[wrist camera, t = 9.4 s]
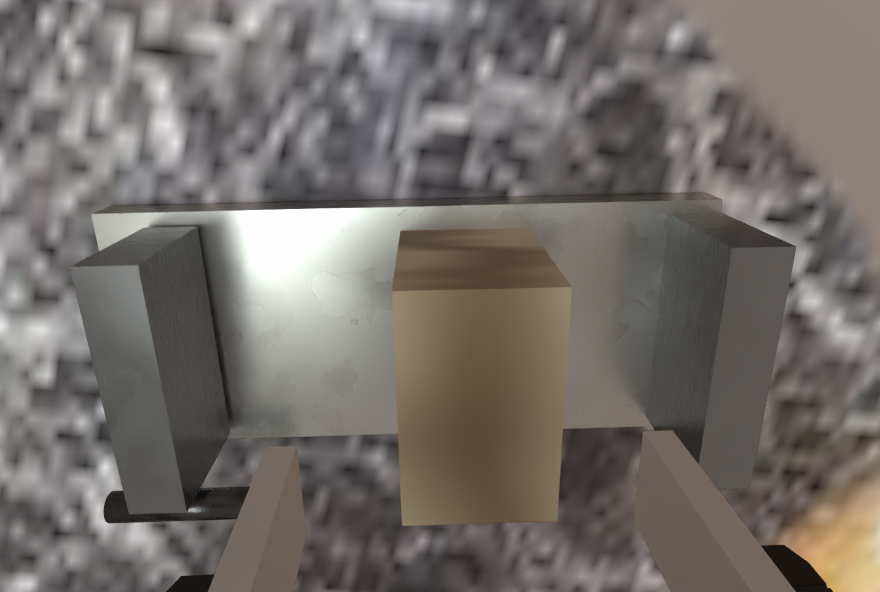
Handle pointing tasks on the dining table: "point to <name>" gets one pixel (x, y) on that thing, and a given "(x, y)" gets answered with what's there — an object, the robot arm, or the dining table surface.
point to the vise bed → (370, 299)
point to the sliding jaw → (157, 375)
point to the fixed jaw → (717, 339)
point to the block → (479, 376)
